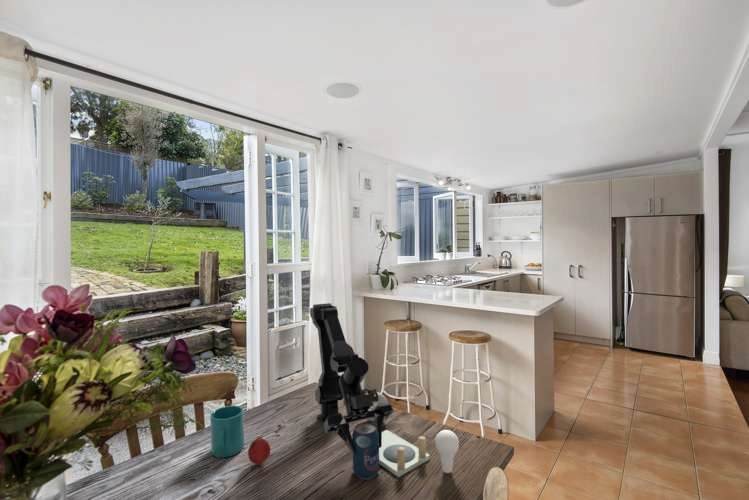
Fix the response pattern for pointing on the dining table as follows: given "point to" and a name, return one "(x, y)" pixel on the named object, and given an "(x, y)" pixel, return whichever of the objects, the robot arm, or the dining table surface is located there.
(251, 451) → the onion
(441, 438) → the lightbulb
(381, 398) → the donut
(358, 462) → the soda can
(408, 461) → the board
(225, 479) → the dining table surface
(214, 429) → the cup
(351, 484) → the dining table surface
